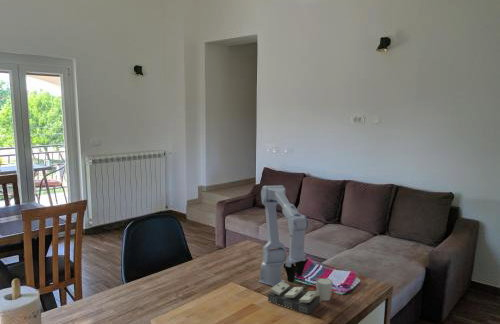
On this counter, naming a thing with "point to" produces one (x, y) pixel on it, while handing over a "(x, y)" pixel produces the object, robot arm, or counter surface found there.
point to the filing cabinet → (294, 301)
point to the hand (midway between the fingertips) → (295, 278)
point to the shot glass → (324, 288)
